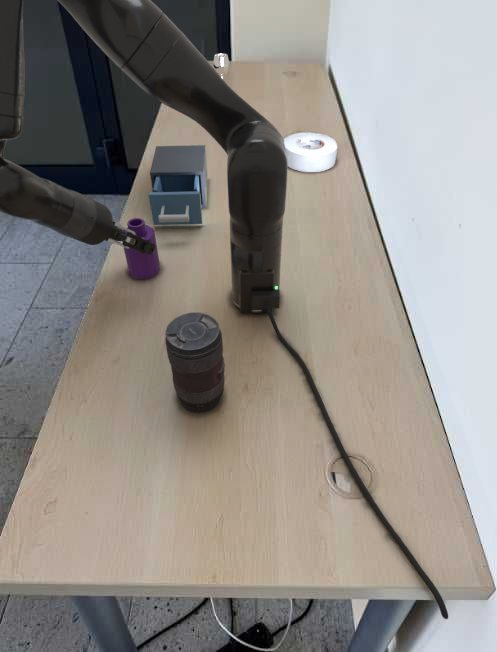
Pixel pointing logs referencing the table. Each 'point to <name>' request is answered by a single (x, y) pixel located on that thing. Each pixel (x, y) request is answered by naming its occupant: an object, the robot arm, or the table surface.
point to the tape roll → (310, 152)
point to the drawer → (176, 200)
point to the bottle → (136, 261)
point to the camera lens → (196, 360)
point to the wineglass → (221, 64)
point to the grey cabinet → (181, 164)
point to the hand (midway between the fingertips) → (137, 242)
